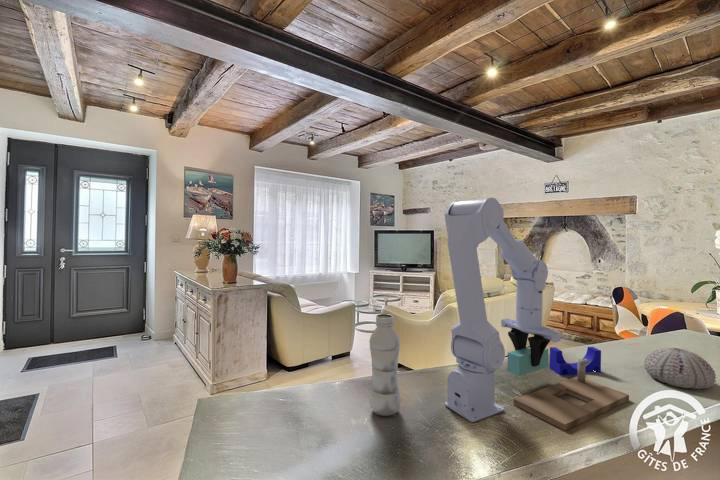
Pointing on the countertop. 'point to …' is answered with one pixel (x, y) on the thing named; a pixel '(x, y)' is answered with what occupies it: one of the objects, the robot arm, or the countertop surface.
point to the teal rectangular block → (525, 361)
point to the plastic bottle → (384, 367)
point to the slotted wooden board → (567, 413)
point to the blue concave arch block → (571, 368)
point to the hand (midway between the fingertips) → (528, 362)
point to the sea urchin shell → (680, 368)
